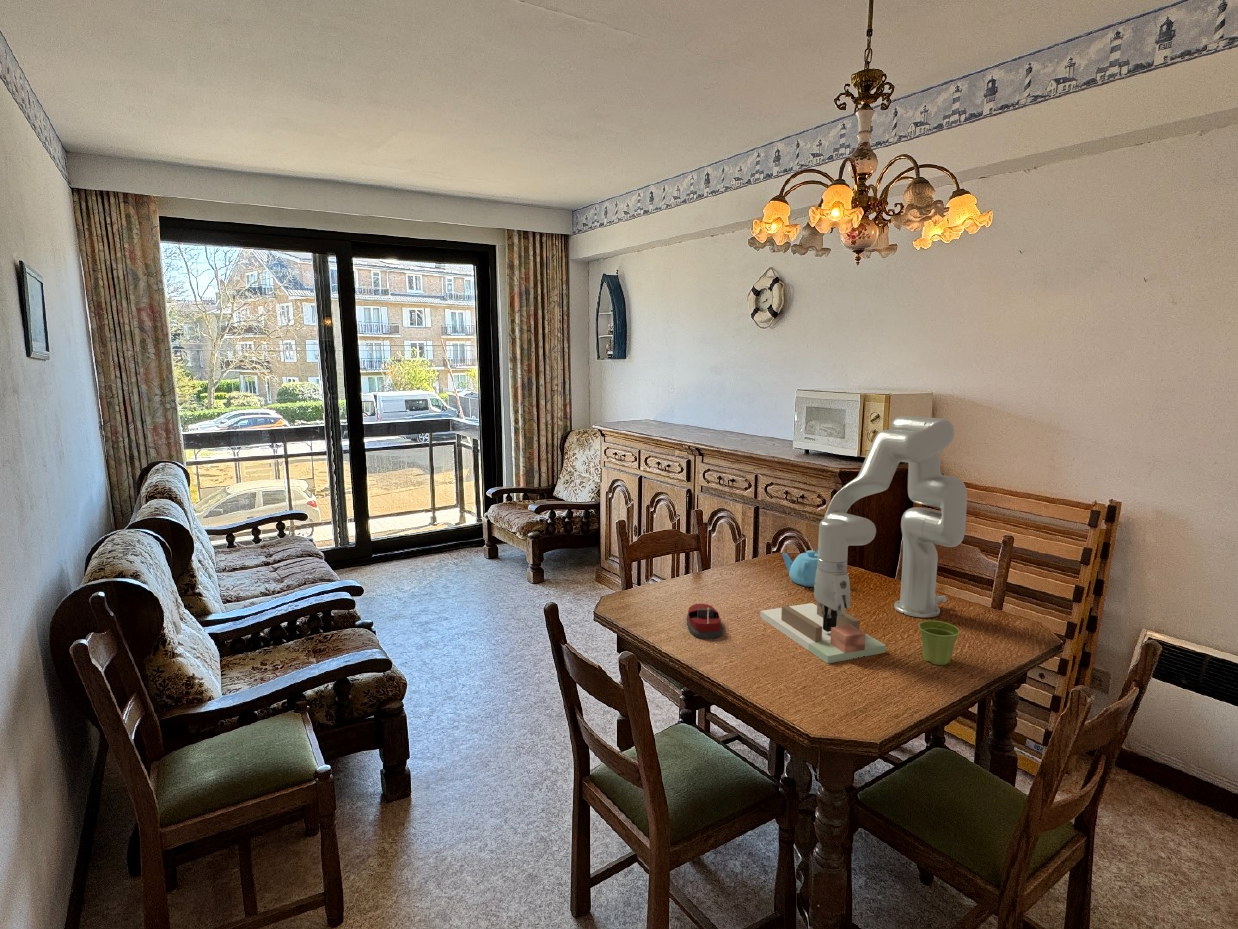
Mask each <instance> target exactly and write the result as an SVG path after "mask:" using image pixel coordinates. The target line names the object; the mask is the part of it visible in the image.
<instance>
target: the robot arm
mask: <svg viewBox="0 0 1238 929" xmlns="http://www.w3.org/2000/svg"><path fill="white" fill-rule="evenodd" d="M954 436H955V428H954V425H953V424H952V423H951V422H950V421H949V420H947V419H945V418H942V417H941V418H938V417H928V416H927V417H926V416H918V415H916V416H915V415H901V416H897V417H895V418H894V419H893V420H892V421H891V426H890V429H884V430H883V429H882V430H881V431H879V432H878V433H877V434H875V436H874V438H873V440H872V443H871V444H870V448H868V452H867V454H866V456H865V459H864V461H863V463H862V466H861V467H860V470H859V472H858V474H857V476H856V477H855V478H853V479H852V480H850V481H849V482H848V483H846V484H845V485H844V486H843V487H842V488H840V490H838V491H837V492H836V493H835V494H834V495H833V497H832V499H831V500H830V502H829V504H828V507H827V509H826V511H825V513H824V517H823V519H821V521H820V522H819V523H818V524H819V525H818V539H817V540H818V542H817V543H818V546H817V547H818V549H817V551H818V565H817V570H816V576H815V584H814V587H813V596H814V599H815V600H816V604H817V603H818V604H819V605H820V606H821V608H822V615H824V616H823V630H825V631H827V632H829V631H831V627H836V624H837V617H838V616H843V615H845V613H846V610H845V609H850V608H851V582H850V577H849V573H848V554H849V553H848V552H849V551H848V549H849V546H852V547H853V546H865V545H868V544H870V543H871V542H872V541H873V540H874V539H875V537H876V534H877V527H876V525H875V523H874V522H872V520H870V519H868V518H866V517H862V516H859V515H855V514H850V513H847V512H848V510H849V509H850V508H851V506H852V505H853V504H855V503H856V502H857V501H859V500H860V499H863V498H865V497H868V496H871V495H875V494H878V493H882V492H885V491H886V490H888V489H889V488H890V484H891V483H892V481H893V477H894V475H895V473H896V471H897V469H898V466H899V464H900V463H908V467H907V469H908V471H907V472H908V473H907V495H908V498H909V499H910V501H912V502H913V503H915V504H918V505H924V506H926V507H927V506H929V507H932V508H938V509H940V510H935V509H930V508H926V507H925V508H924V507H919V506H918V507H917V506H915V507H911V508H908V509H907V510H905V511H904V512H903V514H902V516H901V518H900V519H901V521H900V528H901V529H900V530H901V534H902V535H901V536H902V542H903V543H902V564H901V567H902V568H901V578H900V579H901V580H900V581H901V582H900V598H899V600H896V601H895V602H894V604H893V605H894V606H893V607H894V609H895V610H896V611H897V612H899V613H901V614H903V613H904V615H906V616H908V617H909V616H910V617H915V618H923V619H925V618H927V619H928V618H934V617H938V616H939V615H940V614H941V609H940V607H939V604H940V603H946V602H947V601H948V598H947V596H946V595H945V594H944V595H937V594H936V588H937V587H936V586H937V585H936V584H937V576H938V574H937V573H938V562H939V560H938V559H939V558H938V557H939V556H938V555H939V554H938V551H937V548H936V546H935V545H937V546H939V545H940V546H942V547H948V548H955V547H958V546H960V544H962V542H963V540H964V538H965V533H966V525H967V524H966V523H967V506H968V492H967V487H966V485H965V483H964V481H962V479H960V478H958V477H956V476H951V475H944V474H942V472H941V454H940V452H942V451H944V450H945V449H947V448H948V447H949V446H950V445H951V443H952V442H953V440H954ZM833 610H834V611H833Z"/></svg>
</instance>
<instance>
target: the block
mask: <svg viewBox="0 0 1238 929" xmlns="http://www.w3.org/2000/svg"><path fill="white" fill-rule="evenodd" d="M865 634H867V633H866V632H864V631H862V630H861V629H860V628H859V629H857V628H856V627H854V626H852V625H844V626H838V627H831V643H830V644H832V645H833V646H835V647H836V648H838V649H839V650H841V651H842V652H843V653H850V652H856V651H862V650H865Z"/></svg>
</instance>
